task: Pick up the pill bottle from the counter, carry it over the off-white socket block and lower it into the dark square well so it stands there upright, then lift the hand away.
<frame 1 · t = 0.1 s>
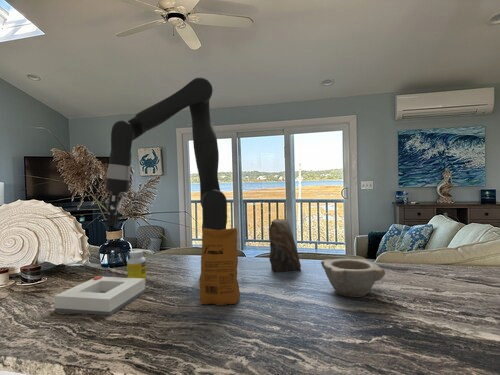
hand: (112, 224, 106), 22 cm above the kitchen island, tool pointing down, fingers open, 8 cm apart
mortar: (351, 292, 96), on the kitchen island
pill bottle: (137, 283, 110), on the kitchen island
coffee package: (220, 300, 92), on the kitchen island
socket block: (103, 300, 94), on the kitchen island
brown rock: (285, 269, 123), on the kitchen island
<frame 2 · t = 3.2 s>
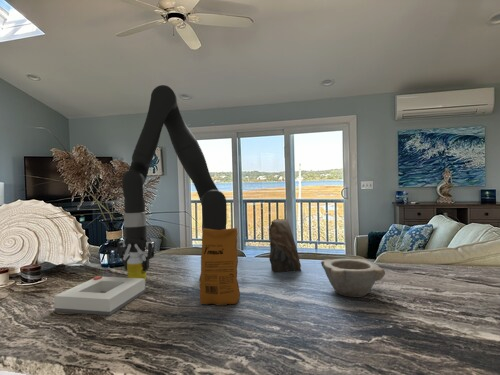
hand: (136, 270, 110), 5 cm above the kitchen island, tool pointing down, fingers closed on pill bottle, 6 cm apart
pill bottle: (137, 283, 110), on the kitchen island, touching gripper
everything else where it was.
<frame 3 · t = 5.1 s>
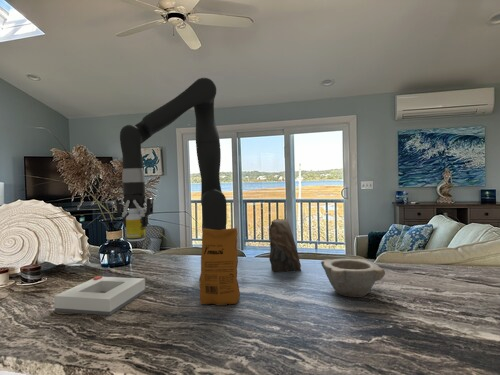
hand: (135, 226, 110), 21 cm above the kitchen island, tool pointing down, fingers closed on pill bottle, 6 cm apart
pill bottle: (136, 240, 110), point 16 cm above the kitchen island, touching gripper
everything else where it was.
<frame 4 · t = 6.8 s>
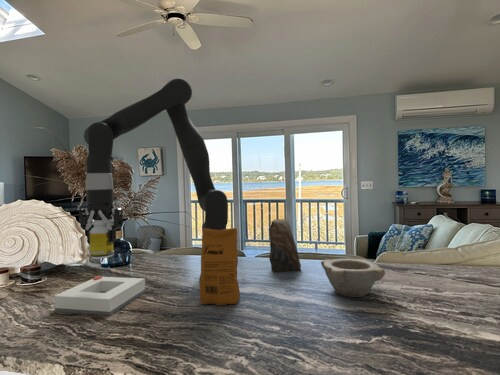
hand: (101, 241, 93), 18 cm above the kitchen island, tool pointing down, fingers closed on pill bottle, 6 cm apart
pill bottle: (102, 257, 94), point 14 cm above the kitchen island, touching gripper
everything else where it was.
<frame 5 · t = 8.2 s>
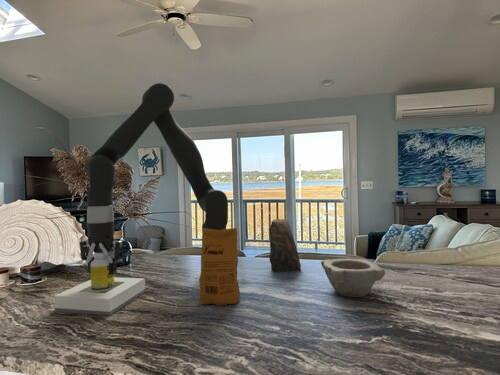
hand: (102, 273, 94), 8 cm above the kitchen island, tool pointing down, fingers closed on pill bottle, 6 cm apart
pill bottle: (103, 289, 94), point 4 cm above the kitchen island, touching gripper
everything else where it was.
when the fingers open (6 cm above the kitchen island, at t = 9.7 s): pill bottle stays where it is, resting on socket block.
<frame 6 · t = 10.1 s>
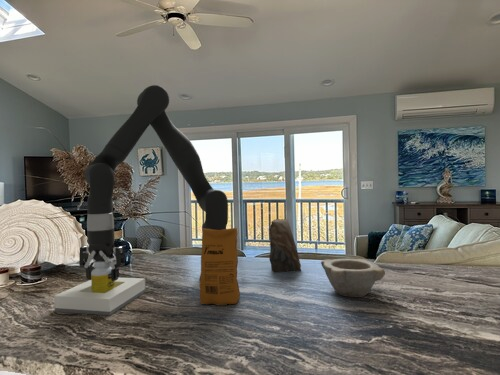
hand: (102, 279, 94), 7 cm above the kitchen island, tool pointing down, fingers open, 8 cm apart
pill bottle: (103, 298, 94), point 1 cm above the kitchen island, touching socket block
everything else where it was.
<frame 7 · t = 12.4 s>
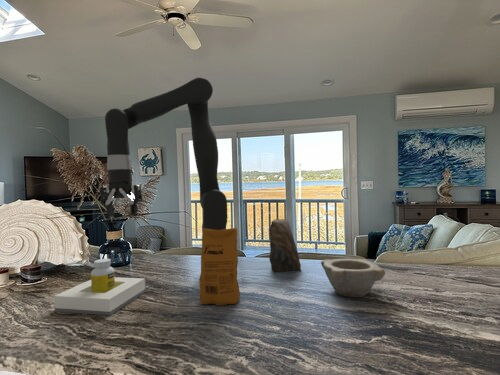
hand: (122, 215, 104), 25 cm above the kitchen island, tool pointing down, fingers open, 8 cm apart
nothing on the kitchen island moved.
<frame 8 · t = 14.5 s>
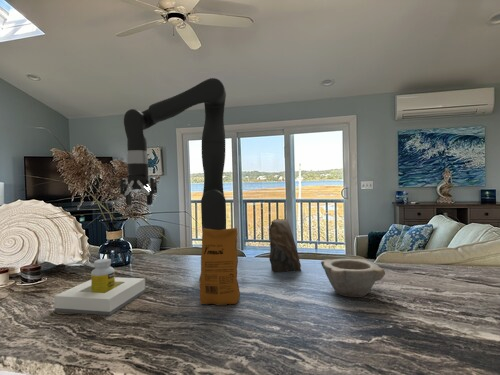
hand: (139, 205, 116), 28 cm above the kitchen island, tool pointing down, fingers open, 8 cm apart
nothing on the kitchen island moved.
at the end: pill bottle 0.1 cm off-centre on the socket block, point 0.8 cm above the socket block's base; pill bottle tilted 0°; the gripper is holding nothing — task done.
